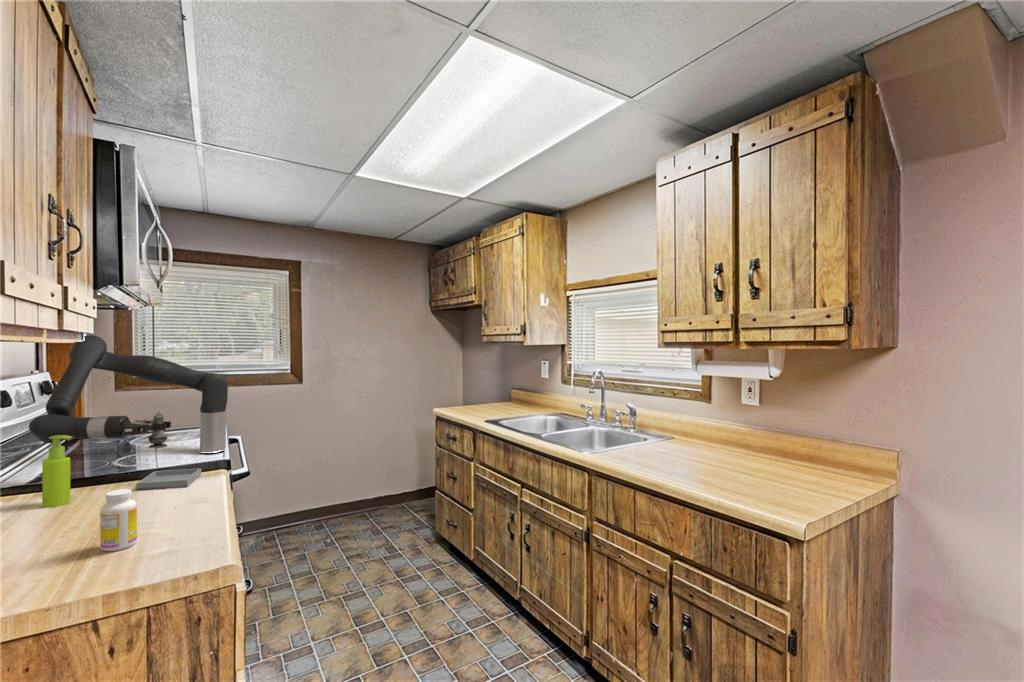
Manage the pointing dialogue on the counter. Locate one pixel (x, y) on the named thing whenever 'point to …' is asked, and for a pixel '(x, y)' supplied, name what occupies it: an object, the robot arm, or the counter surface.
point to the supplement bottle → (118, 521)
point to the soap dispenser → (56, 475)
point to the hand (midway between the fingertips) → (167, 425)
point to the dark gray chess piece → (158, 434)
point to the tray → (168, 479)
